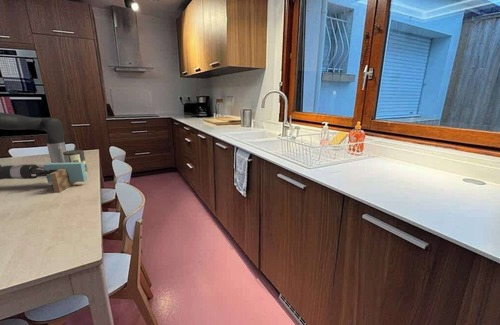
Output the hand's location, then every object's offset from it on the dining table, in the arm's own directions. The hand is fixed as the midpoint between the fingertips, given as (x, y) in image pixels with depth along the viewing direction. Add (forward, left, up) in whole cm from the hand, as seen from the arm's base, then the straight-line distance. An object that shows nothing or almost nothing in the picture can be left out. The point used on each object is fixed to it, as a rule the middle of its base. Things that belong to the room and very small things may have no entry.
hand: (60, 170), depth 127 cm
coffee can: (-21, -4, -9) cm, 23 cm away
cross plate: (0, +3, -6) cm, 7 cm away
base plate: (0, +3, -8) cm, 9 cm away
